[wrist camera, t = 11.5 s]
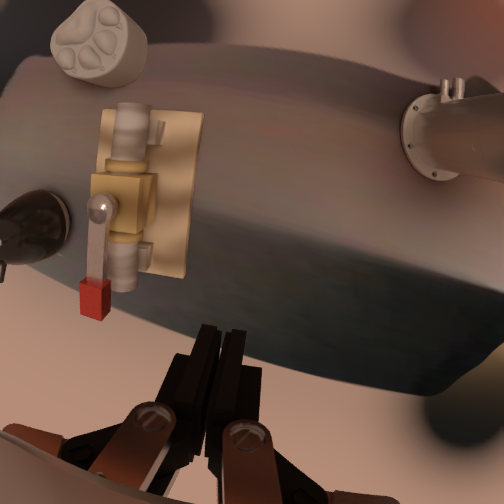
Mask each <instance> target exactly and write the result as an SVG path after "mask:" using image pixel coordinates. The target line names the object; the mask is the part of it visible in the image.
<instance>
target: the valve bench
mask: <svg viewBox="0 0 504 504" xmlns="http://www.w3.org/2000/svg"><path fill="white" fill-rule="evenodd" d="M203 120H204V114H203V113H196V112H183V111H166V110H151V105H148V104H142V103H118V104H117V109H103V113H102V120H101V127H100V135H99V144H98V154H97V165H96V173H94V174H91V191H90V197H92V196H93V195H96V194H99V193H102V192H108V193H110V194H112V195H113V196H114V197H115V199H116V201H117V204H118V211H117V214H116V216H115V217H114V218H113V219H112V220H110V228H109V240H108V255H107V279H109V280H111V290H113V291H116V292H129V291H132V290H134V289H136V288H137V286H138V271H142V272H147V273H153V274H159V275H164V276H170V277H176V278H182V279H183V278H184V277H185V275H186V263H187V252H188V240H189V230H190V220H191V211H192V202H193V193H194V184H195V176H196V169H197V161H198V154H199V147H200V140H201V133H202V126H203Z"/></svg>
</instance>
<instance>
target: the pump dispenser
mask: <svg viewBox="0 0 504 504" xmlns="http://www.w3.org/2000/svg"><path fill="white" fill-rule="evenodd" d="M68 232H69V215H68V211H67V209H66V207H65V205H64V203H63V202H62V201H61V200H60V199H59V198H58V197H57V196H56V195H54V194H52V193H49V192H47V191H44V190H34V191H30V192H28V193H26V194H24V195H22V196H20V197H18V198H16V199H15V200H13V201H12V202H11V203H9V204H8V205H7V206H6V207H4V208H3V209H2V210H1V211H0V283H3V281H4V276H5V271H6V266H7V264H10V265H24V264H30V263H34V262H38V261H41V260H43V259H46V258H49V257H51V256H52V255H54V254H56V253H57V252H58V251H59V250H60V249H61V247H62V246H63V243H64V241H65V240H66V237H67V235H68Z"/></svg>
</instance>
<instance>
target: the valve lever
mask: <svg viewBox="0 0 504 504" xmlns="http://www.w3.org/2000/svg"><path fill="white" fill-rule="evenodd" d="M117 211H118V204H117V201H116V199H115V197H114V196H113V195H112V194H110V193H108V192H102V193H99V194H96V195H93V196H92V197H90V199H89V200H88V202H87V205H86V212H87V215H88V217H89V230H88V249H87V277H86V278H85V279H83V280H82V281H81V282H80V283H79V287H80V313H81V315H84V316H87V317H90V318H93V319H96V320H99V321H102V320H103V319H104V318H105V317H106V315H107V314H108V313H109V312H110V308H111V280H109V279H106V274H107V255H108V240H109V228H110V220H112V219H113V218H114V217H115V216H116V214H117Z"/></svg>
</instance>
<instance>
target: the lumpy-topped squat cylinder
mask: <svg viewBox="0 0 504 504" xmlns="http://www.w3.org/2000/svg"><path fill="white" fill-rule="evenodd" d="M50 48H51V52H52V54H53V56H54V58H55V60H56V62H57V63H58V65H59V66H60V67H61V68H62V70H63V71H64V72H65V73H66V74H68V75H69V76H71V77H74V78H77V79H80V80H83V81H86V82H90V83H93V84H96V85H99V86H103V87H108V88H117V87H122V86H126V85H128V84H130V83H132V82H133V81H135V80H136V79H137V78H138V77H139V76H140V74H141V73H142V71H143V69H144V66H145V63H146V60H147V55H148V48H147V38H146V35H145V33H144V32H143V31H142V29H141V28H140V27H139V26H138V25H137V24H136V23H135V22H134V21H133V20H132V19H131V18H130V17H129V16H128V15H126V14H125V13H124V12H123V11H122V10H121V9H120V8H119V7H117V6H116V5H115V4H114V3H112V2H111V1H110V0H86V1H84V2H83V3H82V4H81V5H80V6H79V7H78V8H77V9H76V11H75V12H74V13H73V14H72V15H71V16H70V17H69V18H68V19H67V20H66V21H65V22H63V23H62V24H61V25H60V26H59V27H58V28H57V29H56V30H55V32H54V33H53V36H52V38H51V44H50Z"/></svg>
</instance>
